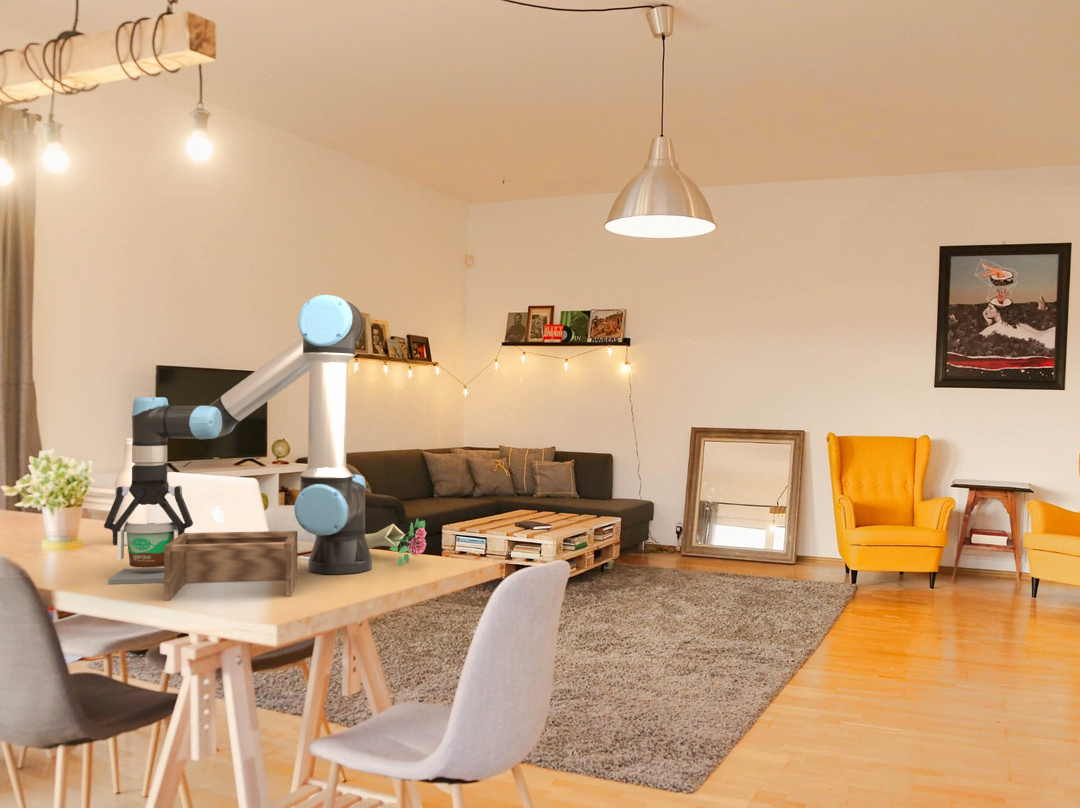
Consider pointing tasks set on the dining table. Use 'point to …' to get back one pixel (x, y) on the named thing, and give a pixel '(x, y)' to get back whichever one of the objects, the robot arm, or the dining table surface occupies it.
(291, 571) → the access cubby
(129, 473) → the alcohol
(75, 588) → the dining table surface
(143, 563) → the food container
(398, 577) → the dining table surface
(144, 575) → the mat
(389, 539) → the flower vase
